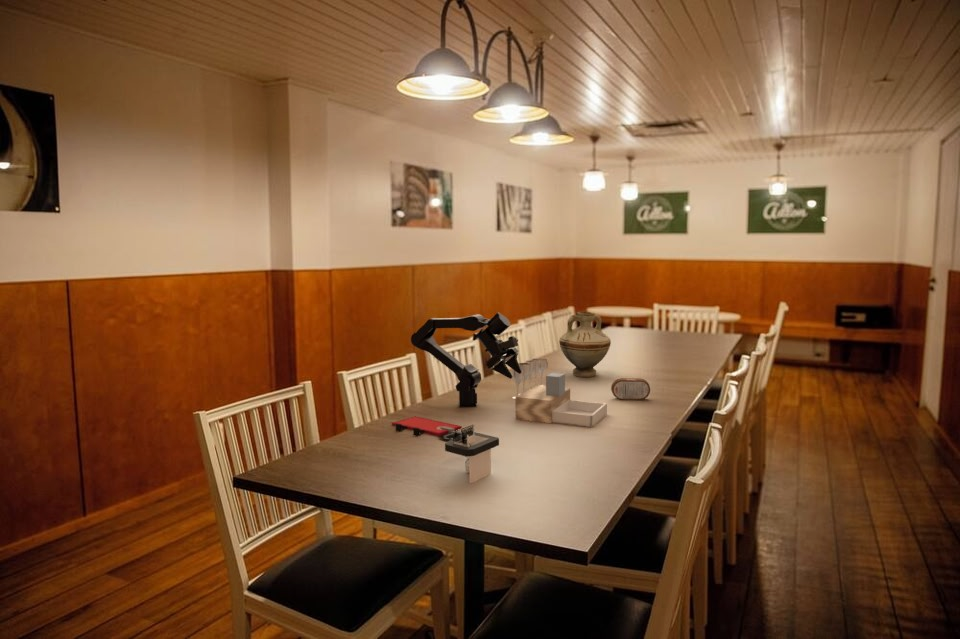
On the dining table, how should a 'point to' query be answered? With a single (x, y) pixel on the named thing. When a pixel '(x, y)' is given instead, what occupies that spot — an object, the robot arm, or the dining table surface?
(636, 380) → the tin
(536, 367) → the goblet set
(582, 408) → the tray
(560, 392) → the block
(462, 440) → the black-topped pedestal
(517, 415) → the wood grain box
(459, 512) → the dining table surface
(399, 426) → the red board with handle
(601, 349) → the amphora
